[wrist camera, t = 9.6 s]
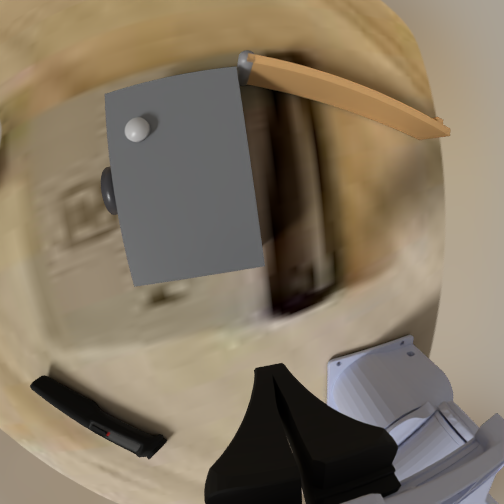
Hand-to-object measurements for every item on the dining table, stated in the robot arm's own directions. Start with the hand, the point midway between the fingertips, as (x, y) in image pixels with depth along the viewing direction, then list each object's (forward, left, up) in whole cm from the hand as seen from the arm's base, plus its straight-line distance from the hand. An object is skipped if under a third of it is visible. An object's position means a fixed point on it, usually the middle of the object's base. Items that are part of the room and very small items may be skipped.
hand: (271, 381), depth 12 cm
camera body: (+3, -10, -9) cm, 14 cm away
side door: (-9, -14, -9) cm, 19 cm away
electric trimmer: (+18, +11, -10) cm, 23 cm away
